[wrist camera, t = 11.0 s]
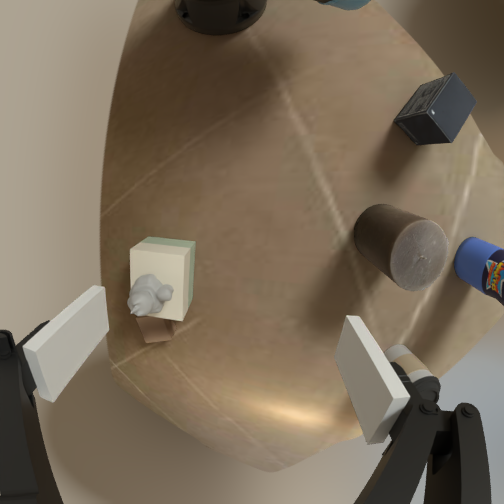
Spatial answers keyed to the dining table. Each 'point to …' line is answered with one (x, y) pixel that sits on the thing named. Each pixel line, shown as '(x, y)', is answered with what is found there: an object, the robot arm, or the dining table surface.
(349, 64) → the dining table surface
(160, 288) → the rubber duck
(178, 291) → the cream and green box
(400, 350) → the coffee cup
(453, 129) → the small box
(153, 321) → the brick
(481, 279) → the blue plastic bottle
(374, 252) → the pillar candle
